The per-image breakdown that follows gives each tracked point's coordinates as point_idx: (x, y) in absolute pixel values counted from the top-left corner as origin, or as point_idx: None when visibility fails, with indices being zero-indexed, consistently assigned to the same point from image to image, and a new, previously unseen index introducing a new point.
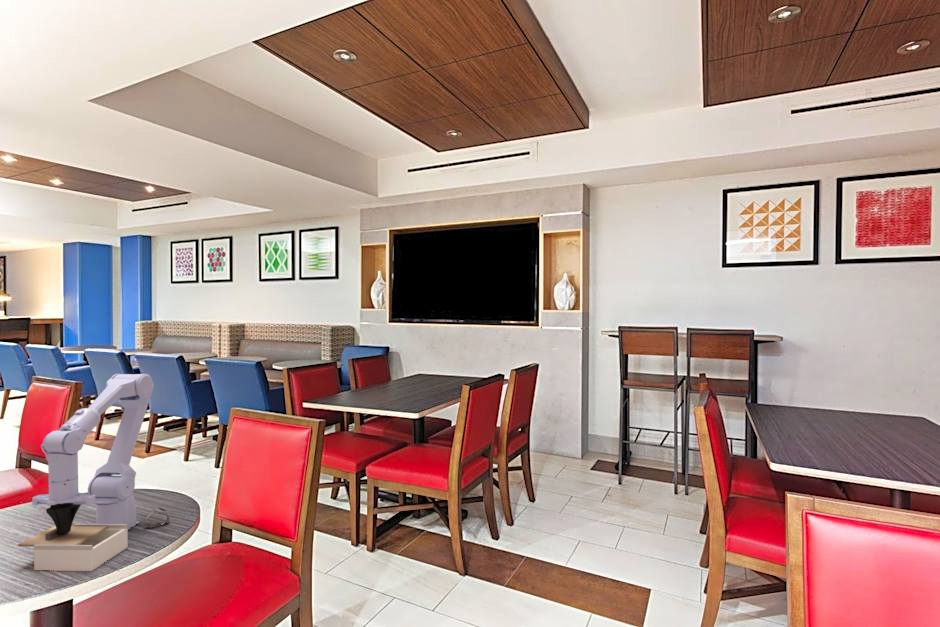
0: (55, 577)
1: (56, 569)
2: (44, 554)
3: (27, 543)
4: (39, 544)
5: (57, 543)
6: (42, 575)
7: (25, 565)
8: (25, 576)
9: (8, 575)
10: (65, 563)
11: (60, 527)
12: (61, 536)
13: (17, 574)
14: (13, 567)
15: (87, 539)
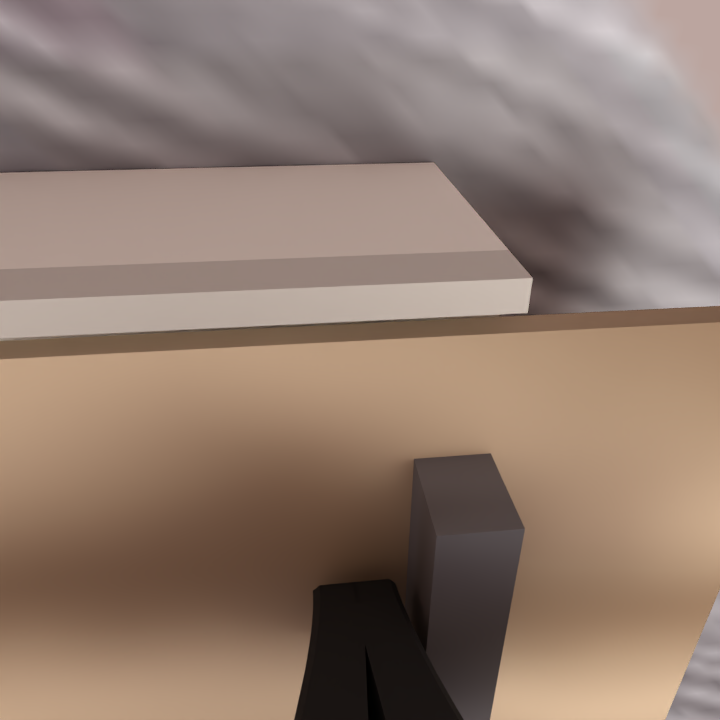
0: (7, 7)
1: (158, 171)
2: (320, 228)
3: (704, 353)
4: (481, 337)
5: (191, 387)
6: (235, 56)
7: (612, 260)
8: (428, 24)
9: (648, 44)
10: (12, 196)
11: (350, 683)
12: (356, 564)
13: (560, 71)
14: (707, 216)
15: None
